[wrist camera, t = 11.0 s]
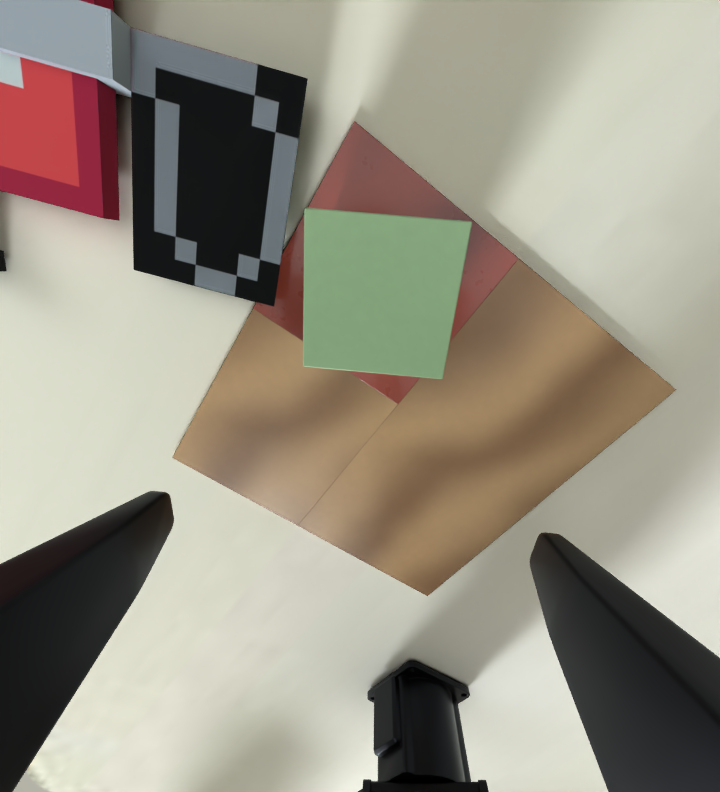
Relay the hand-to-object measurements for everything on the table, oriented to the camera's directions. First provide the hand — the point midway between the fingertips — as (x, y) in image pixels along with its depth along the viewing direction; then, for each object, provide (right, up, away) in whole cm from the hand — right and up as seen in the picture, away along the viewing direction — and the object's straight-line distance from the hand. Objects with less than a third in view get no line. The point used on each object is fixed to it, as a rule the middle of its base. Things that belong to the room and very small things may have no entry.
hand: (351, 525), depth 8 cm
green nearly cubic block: (+1, +8, +8) cm, 12 cm away
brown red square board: (+3, +2, +11) cm, 11 cm away
